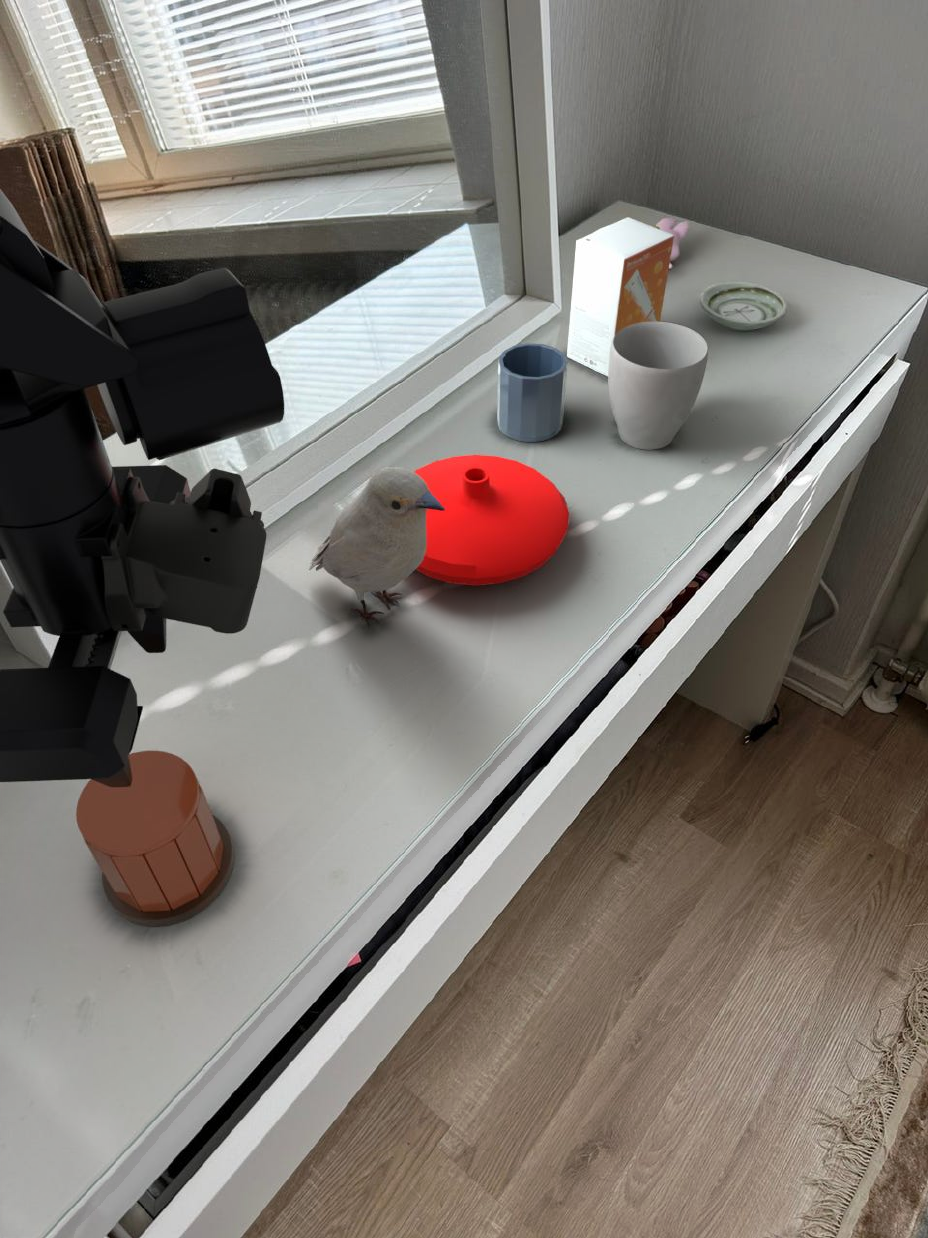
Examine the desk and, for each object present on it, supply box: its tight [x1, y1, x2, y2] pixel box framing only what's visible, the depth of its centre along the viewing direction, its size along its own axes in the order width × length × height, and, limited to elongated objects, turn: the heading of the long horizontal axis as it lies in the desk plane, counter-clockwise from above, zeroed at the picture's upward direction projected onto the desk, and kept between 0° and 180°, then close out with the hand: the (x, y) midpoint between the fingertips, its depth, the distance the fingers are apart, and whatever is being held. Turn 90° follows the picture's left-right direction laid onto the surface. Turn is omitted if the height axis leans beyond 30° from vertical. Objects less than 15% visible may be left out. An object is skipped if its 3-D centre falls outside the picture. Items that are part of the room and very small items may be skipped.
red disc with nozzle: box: [413, 454, 570, 586], centre depth 77 cm, size 16×16×7 cm
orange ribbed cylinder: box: [75, 750, 224, 912], centre depth 55 cm, size 7×7×7 cm
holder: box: [101, 814, 235, 927], centre depth 56 cm, size 8×8×6 cm
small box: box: [566, 216, 674, 378], centre depth 96 cm, size 8×6×13 cm
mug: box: [607, 321, 709, 451], centre depth 87 cm, size 12×9×10 cm
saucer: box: [699, 281, 788, 332], centre depth 104 cm, size 10×10×2 cm
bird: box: [308, 466, 445, 630], centre depth 68 cm, size 5×14×15 cm, turn 56°
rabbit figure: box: [654, 217, 691, 270], centre depth 113 cm, size 6×6×15 cm
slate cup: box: [496, 342, 569, 443], centre depth 89 cm, size 6×6×7 cm
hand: (140, 713), depth 50 cm, fingers open, 9 cm apart
